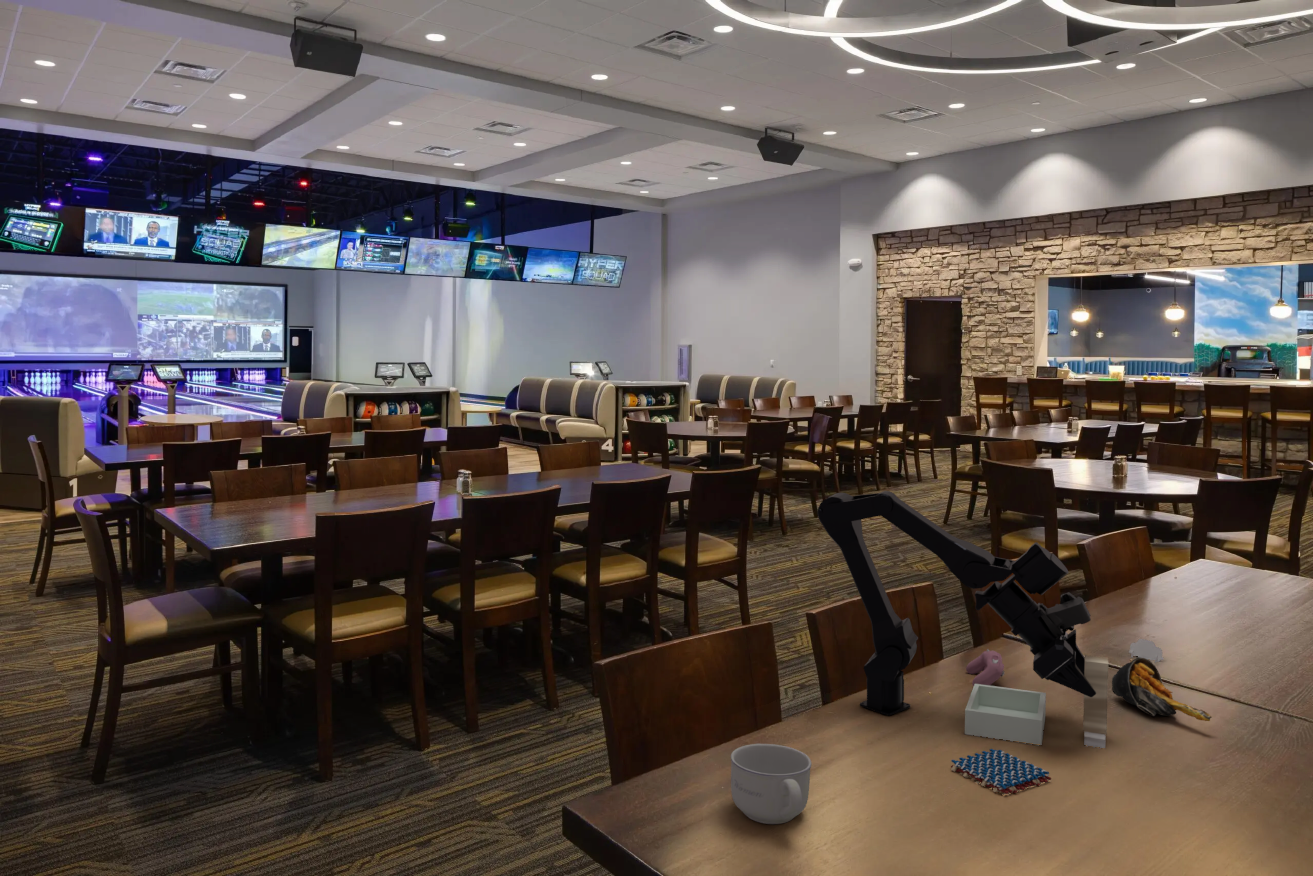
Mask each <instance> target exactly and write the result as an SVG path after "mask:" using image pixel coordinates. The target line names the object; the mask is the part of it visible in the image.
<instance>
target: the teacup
mask: <svg viewBox="0 0 1313 876" xmlns="http://www.w3.org/2000/svg"><path fill="white" fill-rule="evenodd" d="M730 761H731V765H730V790H731V791H730V792H731V796H732V800H733V803H734V805H735V806H736V807H737V808H738V809H739V810H740V811H741V812H742V813H743V814H744V815H745V816H746V817H748V819H750V820H753V821H755V822H757V823H761V824H767V825H780V824H781V825H782V824H785V823H788V822H790V821H792V820H793V819H794V818H795V817H797V816H799V814H801V813H802V812H803V811H804V809H805V808H806V807H807V804H808V800H809V795H810V794H809V791H810V780H811V779H810V778H811V768H812V760H811V758H810V756H809V755H807V754H806V753H805V752H802V751H801V750H798V749H796V748H793V747H791V746H790V747H789V746H786V745H781V744H774V743H771V744H770V743H751V744H746V745H741V746H739V747H738V748H737V747H736V749H734V750H733V751H732V752H731V754H730Z"/></svg>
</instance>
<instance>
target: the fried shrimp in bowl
mask: <svg viewBox="0 0 1313 876" xmlns="http://www.w3.org/2000/svg"><path fill="white" fill-rule="evenodd" d="M1111 690H1112V691H1111V692H1112V693H1113V694H1115V696H1118V697H1120V698H1122V699H1123V700H1124V701H1125V702H1127V703H1129V704H1131V705H1133V706H1136V707H1137V708H1138V709H1140V710H1141V711H1143V712H1144V713H1146V714H1147V715H1150V716H1151V715H1152V716H1151V717H1155V716H1156V715H1160V716H1166V717H1168V716H1172V715H1177V711H1179V712H1182V713H1183V714H1185V715H1187V716H1189V717H1192V718H1194V719H1196V720H1198V721H1204V722H1210V721H1211V718H1212V716H1211V715H1210V714H1209V713H1207V712H1206V711H1205V710H1203V709H1198V708H1195V707H1192V706H1190V705H1188V704H1186V703H1182V702H1179V701H1178V700H1174V699H1173V698H1174V697H1173V691H1171V690H1170V689H1168V688H1166V687H1165V686H1164V684H1163V681H1162V677H1161V675H1160V673H1159V670H1158V668H1157V667H1156V666H1155V664H1153V662H1151V660H1148V659H1145V658H1140V657H1135V658H1134V659H1132V661H1131V662H1127V663H1126V664H1124V665H1122V667H1120V669H1118V670H1117V672H1116V674H1114V675H1113V676H1112V678H1111Z"/></svg>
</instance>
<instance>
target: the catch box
mask: <svg viewBox="0 0 1313 876" xmlns="http://www.w3.org/2000/svg"><path fill="white" fill-rule="evenodd" d="M1046 700H1047V693H1046V692H1043V691H1034V690H1029V689H1028V690H1026V689H1019V688H1018V689H1017V688H1011V687H1005V686H1004V687H1003V686H995V685H981V684H974V686H973V688H972V691H971V693H970V694H969V698H968V701H967V704H966V706H965V709H964V735H968V736H973V735H974V736H975V737H980V736H982V737H981V738H986V737H988V738H987V739H993V738H995V739H994V740H999V739H1003V740H1002V741H1006V740H1010V741H1009V742H1013V741H1019V742H1026V743H1033V744H1040V745H1043V744H1042V743H1043V738H1044V731H1043V730H1044V729H1045V722H1046V709H1047V708H1046V703H1047V701H1046ZM974 736H973V737H974ZM1019 742H1018V743H1019ZM1026 743H1025V744H1026Z"/></svg>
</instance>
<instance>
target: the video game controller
mask: <svg viewBox="0 0 1313 876" xmlns="http://www.w3.org/2000/svg"><path fill="white" fill-rule="evenodd" d="M965 670H966V672H967V673H968V674H969V675H975V674H977V675H976V676H975V677H974V678H973V679H972V681H971V682H972V683H971V684H972V686H973V687H974V684H981V685H989V686H992V685H993V684H994V683H995V682H996V681H997V680H999V679H1000V678H1001V677H1003V676H1004V675H1005V664H1004V663H1003V658H1002V654H1001V653H999V652H997V651H995V650H989V648H987V649H986V650H984V651H983V652H982V653H981V654H980V655H979V656H977V657H976V658H974V659H973V660H971V661H970V662H968V664H967V665H966V667H965Z"/></svg>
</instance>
